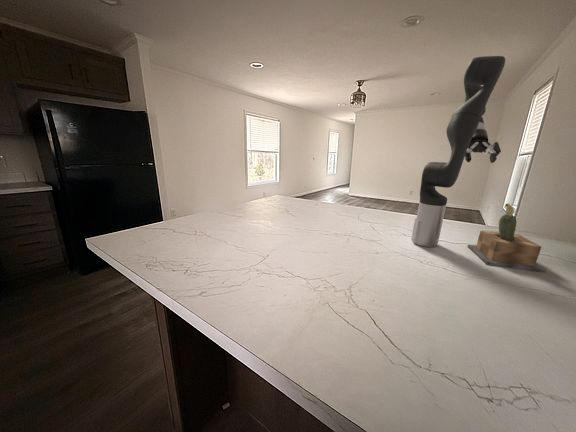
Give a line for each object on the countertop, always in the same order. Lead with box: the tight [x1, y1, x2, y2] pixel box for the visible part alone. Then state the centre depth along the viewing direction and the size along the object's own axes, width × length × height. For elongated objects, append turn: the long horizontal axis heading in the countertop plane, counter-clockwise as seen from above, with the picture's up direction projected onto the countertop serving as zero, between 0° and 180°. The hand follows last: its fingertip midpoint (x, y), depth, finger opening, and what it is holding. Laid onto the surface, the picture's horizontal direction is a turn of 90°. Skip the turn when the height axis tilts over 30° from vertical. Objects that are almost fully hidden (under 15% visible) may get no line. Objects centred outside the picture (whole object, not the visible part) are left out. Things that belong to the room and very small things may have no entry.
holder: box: [467, 230, 547, 274], centre depth 82 cm, size 16×16×8 cm
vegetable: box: [498, 203, 517, 241], centre depth 80 cm, size 4×4×20 cm
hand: (481, 161), depth 98 cm, fingers open, 8 cm apart
